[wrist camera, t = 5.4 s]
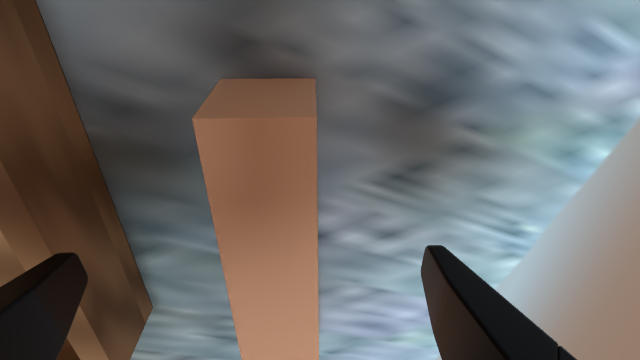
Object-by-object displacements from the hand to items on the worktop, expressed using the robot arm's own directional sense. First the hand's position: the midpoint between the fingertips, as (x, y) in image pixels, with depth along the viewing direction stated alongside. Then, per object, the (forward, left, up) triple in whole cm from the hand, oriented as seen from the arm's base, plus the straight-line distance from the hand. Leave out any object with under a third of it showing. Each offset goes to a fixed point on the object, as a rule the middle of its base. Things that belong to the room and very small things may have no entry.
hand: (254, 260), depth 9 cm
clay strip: (-5, 0, -7) cm, 8 cm away
